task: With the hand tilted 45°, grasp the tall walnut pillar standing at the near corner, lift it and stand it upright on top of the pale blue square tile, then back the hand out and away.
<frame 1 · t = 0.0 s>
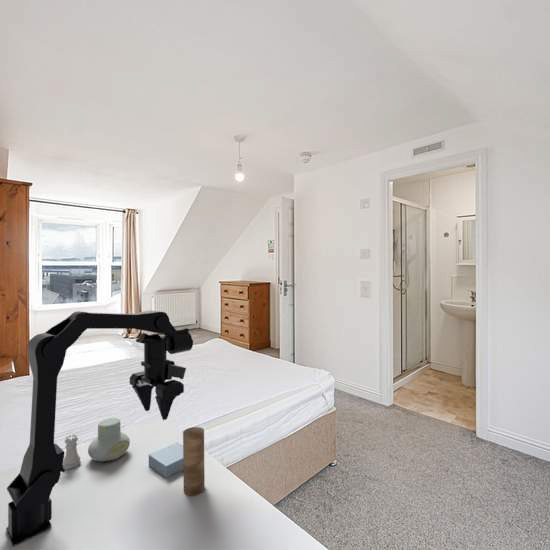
hand: (156, 414, 90), 15 cm above the table, tool pointing down, fingers open, 9 cm apart
walnut pillar: (194, 489, 81), on the table
air freshener: (109, 457, 97), on the table
rook chess piece: (71, 466, 92), on the table
pale blue square tile: (172, 464, 92), on the table
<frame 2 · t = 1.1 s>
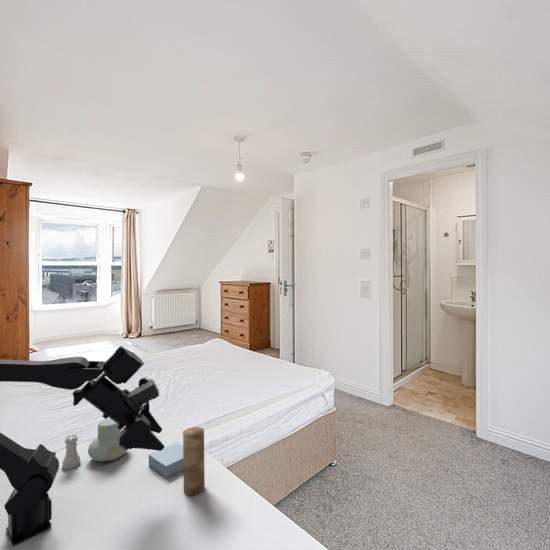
hand: (161, 439, 79), 13 cm above the table, tool tilted 45°, fingers open, 9 cm apart
nothing on the table moved.
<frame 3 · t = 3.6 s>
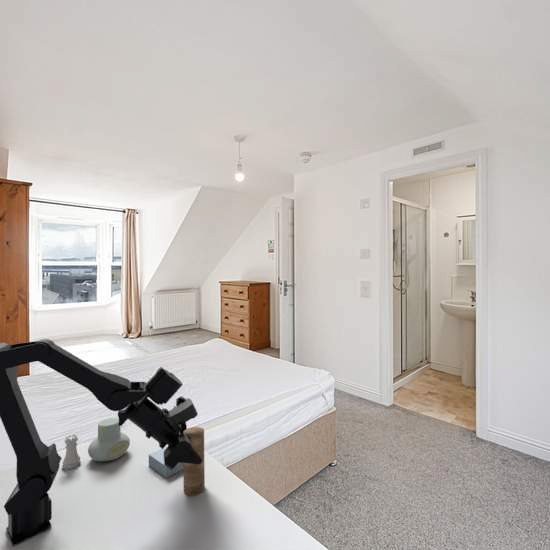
hand: (199, 456, 82), 8 cm above the table, tool tilted 45°, fingers closed on walnut pillar, 5 cm apart
walnut pillar: (194, 489, 81), on the table, touching gripper
everything else where it was.
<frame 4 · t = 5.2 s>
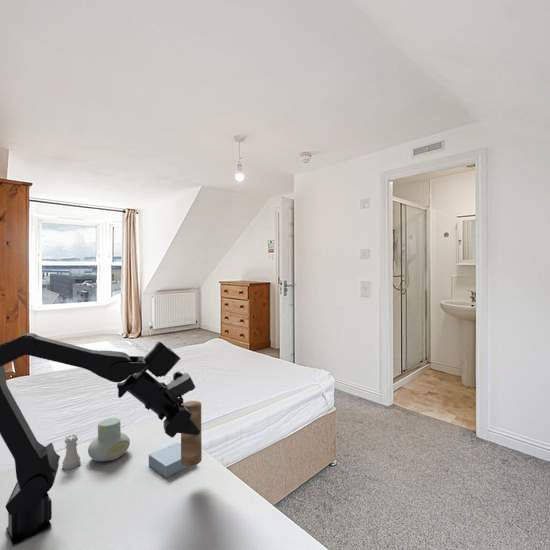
hand: (196, 429, 84), 13 cm above the table, tool tilted 45°, fingers closed on walnut pillar, 5 cm apart
walnut pillar: (191, 460, 83), point 6 cm above the table, touching gripper
everything else where it was.
when the fingers open (12 cm above the table, at t = 6.9 s): walnut pillar drops 1 cm, resting on pale blue square tile.
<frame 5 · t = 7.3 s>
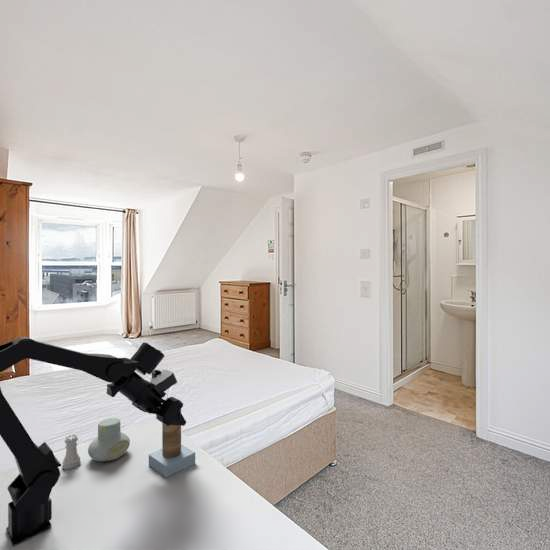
hand: (176, 419, 93), 12 cm above the table, tool tilted 45°, fingers open, 9 cm apart
walnut pillar: (171, 453, 92), point 3 cm above the table, touching pale blue square tile
everything else where it was.
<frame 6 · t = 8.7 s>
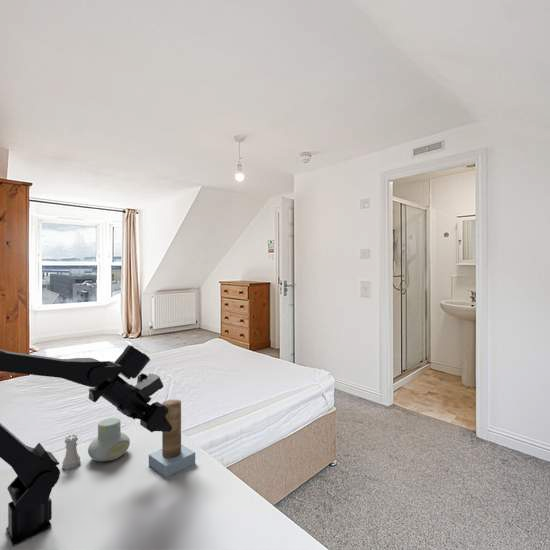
hand: (162, 424, 90), 12 cm above the table, tool tilted 45°, fingers open, 9 cm apart
nothing on the table moved.
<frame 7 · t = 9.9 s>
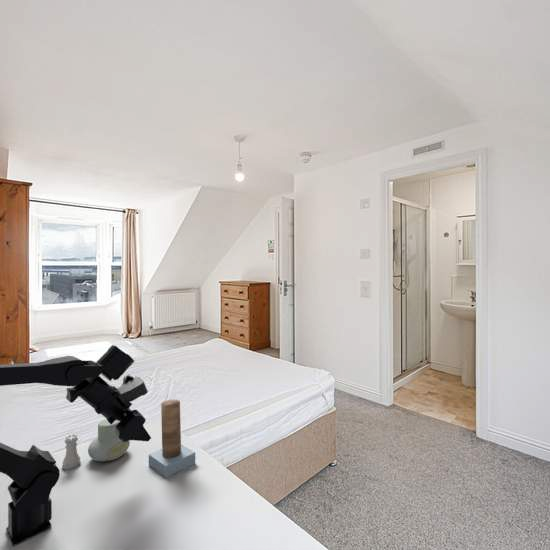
hand: (143, 431, 86), 12 cm above the table, tool tilted 40°, fingers open, 9 cm apart
nothing on the table moved.
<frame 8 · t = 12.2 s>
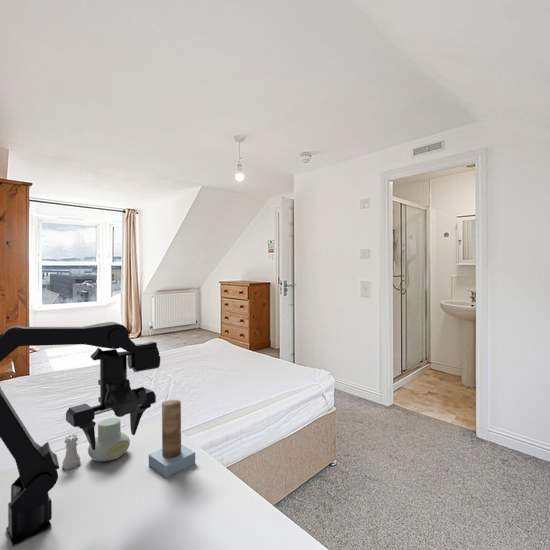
hand: (114, 441, 79), 13 cm above the table, tool pointing down, fingers open, 9 cm apart
nothing on the table moved.
at the end: walnut pillar 0.1 cm off-centre on the pale blue square tile, point 3.0 cm above the pale blue square tile's base; walnut pillar tilted 1°; the gripper is holding nothing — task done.
